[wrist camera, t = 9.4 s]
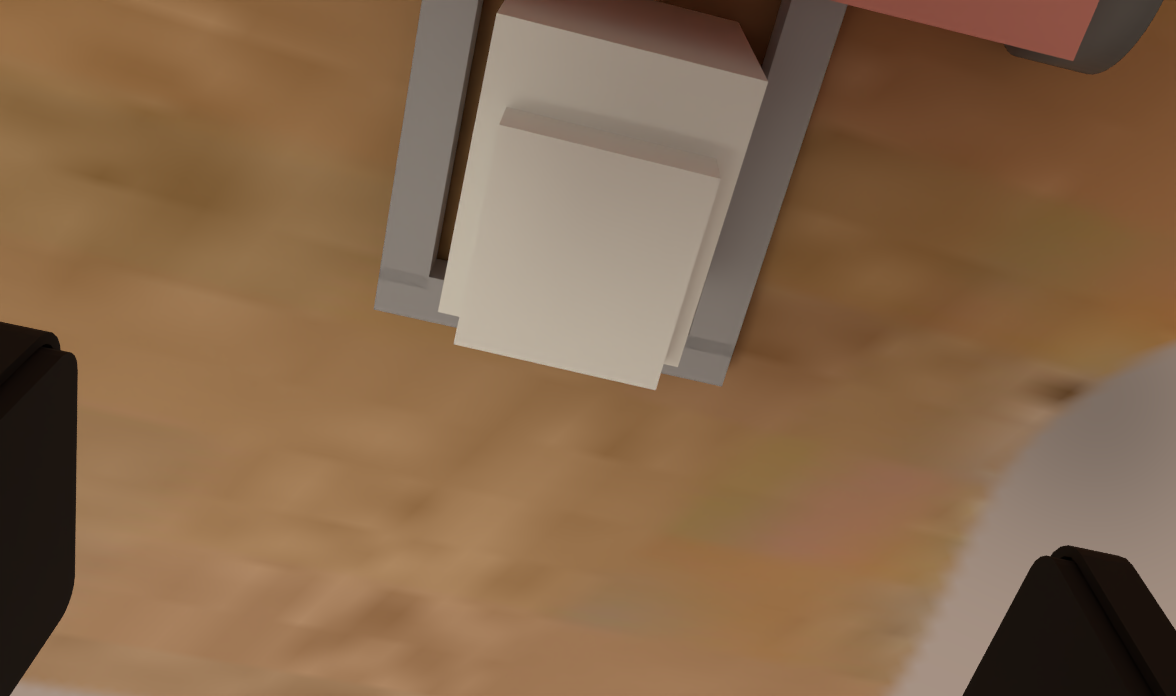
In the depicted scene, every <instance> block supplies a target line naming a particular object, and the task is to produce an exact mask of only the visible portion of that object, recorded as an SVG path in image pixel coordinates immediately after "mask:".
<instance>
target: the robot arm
mask: <svg viewBox="0 0 1176 696" xmlns="http://www.w3.org/2000/svg"><path fill="white" fill-rule="evenodd" d="M77 376H78V369H77V360H76V358H75V355H73V354H72V353H70V352H66V351H61V350H60V344H59V341H58V338H57V336H55V335H54V334H53V333H52V332H47V331H42V330H37V329H32V328H28V327H23V326H18V325H13V324H9V323H4V322H0V696H10V694H11V693H12V691H13V690H14V688H15V687H16V685H17V684H18V682H19V681H20V679H21V678H22V676H23V675H24V673H25V672H26V671H27V669H28V668H29V666H30V665H31V663H32V662H33V660H34V659H35V657H36V656H37V654H38V653H39V651H40V650H41V648H42V647H43V645H44V644H45V642H46V641H47V639H48V638H49V636H50V635H51V633H52V632H53V630H54V629H55V627H56V626H57V624H58V623H59V621H60V620H61V618H62V616H63V615H64V613H65V611H66V608H67V606H68V604H69V601H70V598H71V595H72V591H73V586H74V579H75V525H76V450H77ZM963 696H1176V630H1175V629H1174V627H1173V626H1172V624H1171V623H1170V621H1169V620H1168V618H1167V617H1166V615H1165V614H1164V612H1163V611H1162V609H1161V608H1160V606H1159V605H1158V603H1157V602H1156V600H1155V599H1154V597H1153V595H1152V594H1151V593H1150V591H1149V590H1148V588H1147V586H1146V585H1145V583H1144V582H1143V580H1142V579H1141V577H1140V576H1139V574H1138V573H1137V571H1136V570H1135V568H1134V567H1133V565H1132V564H1130V562H1129V561H1128V560H1127V559H1126V558H1123V557H1120V556H1117V555H1112V554H1107V553H1103V552H1098V551H1093V550H1088V549H1084V548H1079V547H1074V546H1069V545H1068V546H1062V547H1060V548H1058V549H1057V550H1056V551H1054V552H1053V554H1052V555H1051V556H1042V557H1040V558H1039V559H1037V560H1036V561H1035V562H1034V564H1033V565H1032V567H1031V568H1030V570H1029V572H1028V574H1027V576H1026V578H1025V579H1024V581H1023V583H1022V585H1021V587H1020V589H1019V591H1018V593H1017V594H1016V596H1015V598H1014V600H1013V602H1012V604H1011V606H1010V608H1009V610H1008V611H1007V613H1006V615H1005V617H1004V619H1003V621H1002V623H1001V624H1000V627H999V628H998V630H997V632H996V634H995V636H994V638H993V639H992V641H991V643H990V645H989V647H988V649H987V651H986V653H985V654H984V656H983V658H982V660H981V662H980V664H979V666H978V667H977V669H976V671H975V673H974V675H973V677H972V679H971V681H970V683H969V685H968V686H967V688H966V690H965V692H964V694H963Z"/></svg>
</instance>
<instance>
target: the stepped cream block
mask: <svg viewBox="0 0 1176 696" xmlns="http://www.w3.org/2000/svg"><path fill="white" fill-rule="evenodd" d="M767 84H768V80H767V78H766V76H765V74H764V72H763V70H762V68H761V66H760V64H759V62H758V60H757V58H756V56H755V54H754V52H753V50H752V48H751V46H750V44H749V42H748V40H747V38H746V36H745V34H744V33H743V31H742V29H741V27H740V25H739V23H738V22H736V21H732V20H729V19H725V18H721V17H717V16H713V15H709V14H705V13H701V12H697V11H694V10H690V9H686V8H682V7H678V6H674V5H670V4H666V3H662V2H659V1H655V0H504V2H503V4H502V5H501V7H500V8H499V10H498V12H497V13H496V19H495V24H494V29H493V34H492V39H491V44H490V49H489V54H488V59H487V64H486V69H485V75H484V80H483V85H482V90H481V95H480V100H479V105H478V110H477V115H476V120H475V125H474V131H473V136H472V141H471V146H470V151H469V156H468V161H467V166H466V171H465V176H464V181H463V187H462V192H461V197H460V202H459V207H458V212H457V217H456V222H455V227H454V232H453V237H452V243H451V248H450V253H449V258H448V263H447V268H446V273H445V278H444V283H443V288H442V293H441V299H440V304H439V309H438V312H440V313H445V314H449V315H453V316H458V317H459V321H458V326H457V330H456V335H455V340H454V344H455V345H460V346H464V347H468V348H473V349H477V350H482V351H486V352H490V353H495V354H499V355H503V356H508V357H512V358H517V359H521V360H525V361H530V362H534V363H538V364H543V365H547V366H552V367H556V368H560V369H565V370H569V371H573V372H578V373H582V374H587V375H591V376H595V377H600V378H604V379H608V380H613V381H617V382H622V383H626V384H630V385H635V386H639V387H643V388H648V389H652V390H656V387H657V384H658V381H659V377H660V374H661V371H662V368H663V364H666V365H670V366H674V367H678V365H679V362H680V359H681V356H682V352H683V349H684V346H685V343H686V340H687V337H688V333H689V330H690V327H691V324H692V321H693V318H694V315H695V311H696V308H697V305H698V302H699V299H700V296H701V292H702V289H703V286H704V283H705V280H706V277H707V273H708V270H709V267H710V264H711V261H712V258H713V255H714V251H715V248H716V245H717V242H718V239H719V236H720V232H721V229H722V226H723V223H724V220H725V217H726V213H727V210H728V207H729V204H730V201H731V198H732V195H733V191H734V188H735V185H736V182H737V179H738V176H739V172H740V169H741V166H742V163H743V160H744V157H745V154H746V150H747V147H748V144H749V141H750V138H751V135H752V131H753V128H754V125H755V122H756V119H757V116H758V112H759V109H760V106H761V103H762V100H763V97H764V94H765V90H766V87H767Z"/></svg>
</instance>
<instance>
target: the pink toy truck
mask: <svg viewBox="0 0 1176 696" xmlns="http://www.w3.org/2000/svg"><path fill="white" fill-rule="evenodd" d="M1162 2H1163V0H782V1H781V4H780V8H779V11H778V14H777V18H776V21H775V24H774V28H773V31H772V34H771V38H770V41H769V44H768V47H767V51H766V54H765V57H764V61H763V64H762V67H761V68H762V70H763V72H764V74H765V76H766V78H767V80H768V84H767V87H766V90H765V94H764V97H763V100H762V103H761V106H760V109H759V112H758V116H757V119H756V122H755V125H754V128H753V131H752V135H751V138H750V141H749V144H748V147H747V150H746V154H745V157H744V160H743V163H742V166H741V169H740V172H739V176H738V179H737V182H736V185H735V188H734V191H733V195H732V198H731V201H730V204H729V207H728V210H727V213H726V217H725V220H724V223H723V226H722V229H721V232H720V236H719V239H718V242H717V245H716V248H715V251H714V255H713V258H712V261H711V264H710V267H709V270H708V273H707V277H706V280H705V283H704V286H703V289H702V292H701V296H700V299H699V302H698V305H697V308H696V311H695V315H694V318H693V321H692V324H691V327H690V330H689V333H688V337H687V340H686V343H685V346H684V349H683V352H682V356H681V359H680V362H679V365H678V367H674V366H670V365H666V364H663V368H662V371H661V373H663V374H668V375H672V376H677V377H681V378H686V379H690V380H695V381H699V382H704V383H708V384H713V385H717V386H722V384H723V381H724V378H725V375H726V372H727V369H728V366H729V363H730V360H731V357H732V354H733V351H734V348H735V345H736V342H737V339H738V336H739V333H740V330H741V327H742V323H743V320H744V317H745V314H746V311H747V308H748V305H749V302H750V299H751V296H752V293H753V290H754V287H755V284H756V281H757V278H758V275H759V272H760V269H761V266H762V263H763V260H764V257H765V254H766V251H767V248H768V245H769V242H770V239H771V236H772V233H773V229H774V226H775V223H776V220H777V217H778V214H779V211H780V208H781V205H782V202H783V199H784V196H785V193H786V190H787V187H788V184H789V181H790V178H791V175H792V172H793V169H794V166H795V163H796V160H797V157H798V154H799V151H800V148H801V145H802V142H803V139H804V135H805V132H806V129H807V126H808V123H809V120H810V117H811V114H812V111H813V108H814V105H815V102H816V99H817V96H818V93H819V90H820V87H821V84H822V81H823V78H824V75H825V72H826V69H827V66H828V63H829V60H830V57H831V54H832V51H833V48H834V45H835V41H836V38H837V35H838V32H839V29H840V26H841V23H842V20H843V17H844V14H845V11H846V8H847V5H851V6H855V7H859V8H863V9H867V10H871V11H875V12H879V13H883V14H887V15H891V16H895V17H899V18H903V19H907V20H911V21H915V22H919V23H923V24H927V25H931V26H935V27H939V28H943V29H947V30H951V31H955V32H959V33H963V34H967V35H971V36H975V37H979V38H983V39H987V40H991V41H995V42H999V43H1003V44H1004V45H1005V47H1006V49H1007V51H1008V52H1009V53H1010V54H1011V55H1014V56H1017V57H1021V58H1025V59H1029V60H1033V61H1037V62H1041V63H1045V64H1049V65H1053V66H1057V67H1061V68H1065V69H1069V70H1073V71H1077V72H1081V73H1085V74H1097V73H1101V72H1103V71H1105V70H1107V69H1109V68H1110V67H1112V66H1113V65H1115V64H1116V63H1117V62H1118V61H1120V60H1121V59H1122V58H1123V57H1124V56H1125V55H1126V54H1127V53H1128V52H1129V51H1130V50H1131V49H1132V47H1133V46H1134V45H1135V44H1136V43H1137V41H1138V40H1139V39H1140V37H1141V36H1142V35H1143V33H1144V32H1145V31H1146V29H1147V27H1148V26H1149V24H1150V23H1151V21H1152V20H1153V18H1154V16H1155V15H1156V13H1157V11H1158V9H1159V7H1160V6H1161V4H1162ZM482 5H483V0H422V4H421V10H420V17H419V23H418V30H417V36H416V42H415V49H414V55H413V62H412V68H411V74H410V81H409V87H408V94H407V100H406V107H405V113H404V119H403V126H402V132H401V139H400V145H399V151H398V158H397V164H396V171H395V177H394V183H393V190H392V196H391V203H390V209H389V215H388V222H387V228H386V235H385V241H384V247H383V254H382V260H381V267H380V273H379V280H378V286H377V292H376V299H375V305H374V310H379V311H383V312H388V313H392V314H397V315H401V316H406V317H410V318H415V319H420V320H424V321H429V322H433V323H438V324H442V325H447V326H451V327H456V328H457V326H458V321H459V317H458V316H453V315H449V314H445V313H440V312H438V309H439V304H440V299H441V293H442V288H443V283H444V278H445V273H446V268H447V263H448V261H445V260H441V259H437V254H438V248H439V243H440V237H441V232H442V226H443V221H444V215H445V210H446V204H447V199H448V193H449V187H450V182H451V176H452V171H453V165H454V160H455V154H456V149H457V143H458V138H459V132H460V127H461V121H462V116H463V110H464V105H465V99H466V94H467V88H468V82H469V77H470V71H471V66H472V60H473V55H474V49H475V44H476V38H477V33H478V27H479V22H480V16H481V11H482Z"/></svg>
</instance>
